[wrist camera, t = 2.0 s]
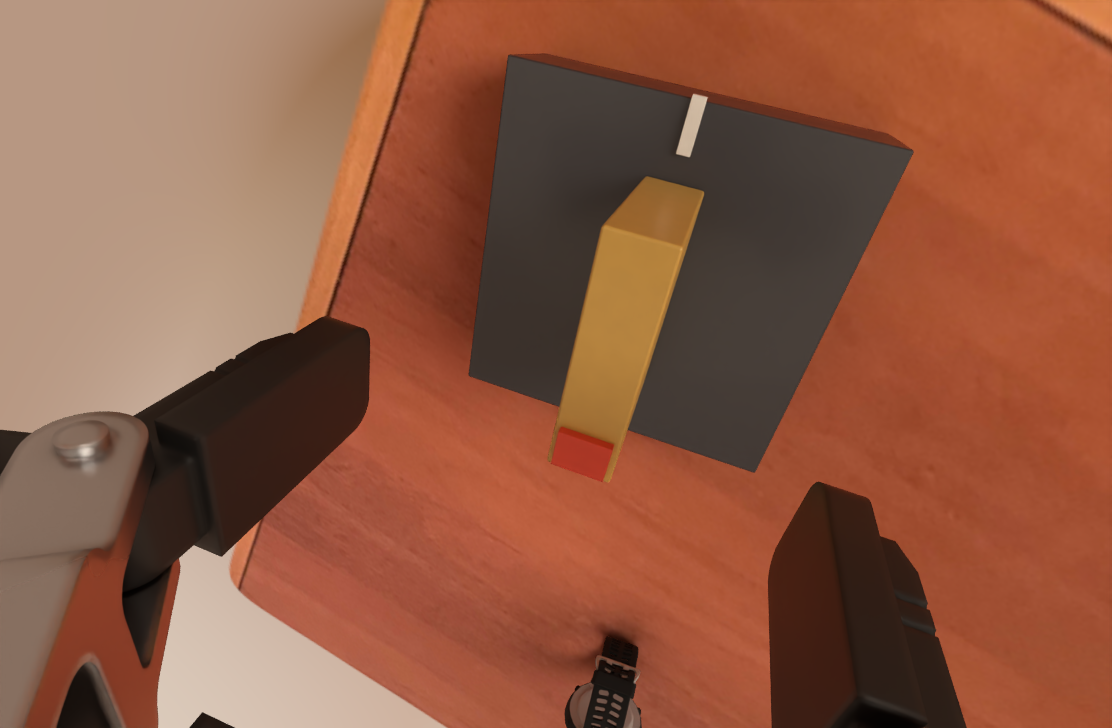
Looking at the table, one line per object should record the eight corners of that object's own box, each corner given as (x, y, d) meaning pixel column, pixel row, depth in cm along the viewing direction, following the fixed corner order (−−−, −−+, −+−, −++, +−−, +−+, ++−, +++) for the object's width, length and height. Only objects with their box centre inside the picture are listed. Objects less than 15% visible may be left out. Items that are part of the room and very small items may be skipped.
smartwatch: (568, 648, 30) (537, 745, 26) (618, 602, 27) (593, 702, 23) (633, 691, 30) (614, 795, 26) (691, 649, 27) (679, 758, 23)
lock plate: (544, 49, 17) (505, 49, 14) (891, 130, 15) (918, 147, 13) (499, 341, 22) (465, 380, 20) (754, 424, 21) (753, 479, 18)
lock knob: (645, 175, 15) (598, 227, 11) (705, 190, 15) (682, 251, 10) (594, 366, 18) (543, 468, 14) (644, 382, 18) (606, 491, 13)
